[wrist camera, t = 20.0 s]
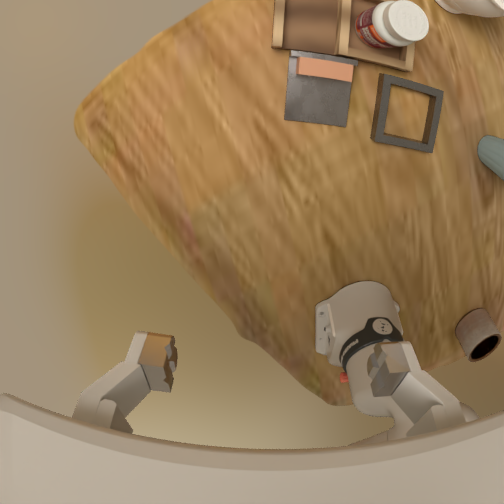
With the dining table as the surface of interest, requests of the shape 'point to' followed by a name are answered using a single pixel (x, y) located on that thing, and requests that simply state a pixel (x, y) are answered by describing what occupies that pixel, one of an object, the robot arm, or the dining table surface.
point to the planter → (477, 335)
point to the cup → (492, 154)
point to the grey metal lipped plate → (316, 93)
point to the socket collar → (382, 107)
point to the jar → (474, 7)
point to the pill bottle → (392, 24)
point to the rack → (332, 31)
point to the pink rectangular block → (324, 68)
